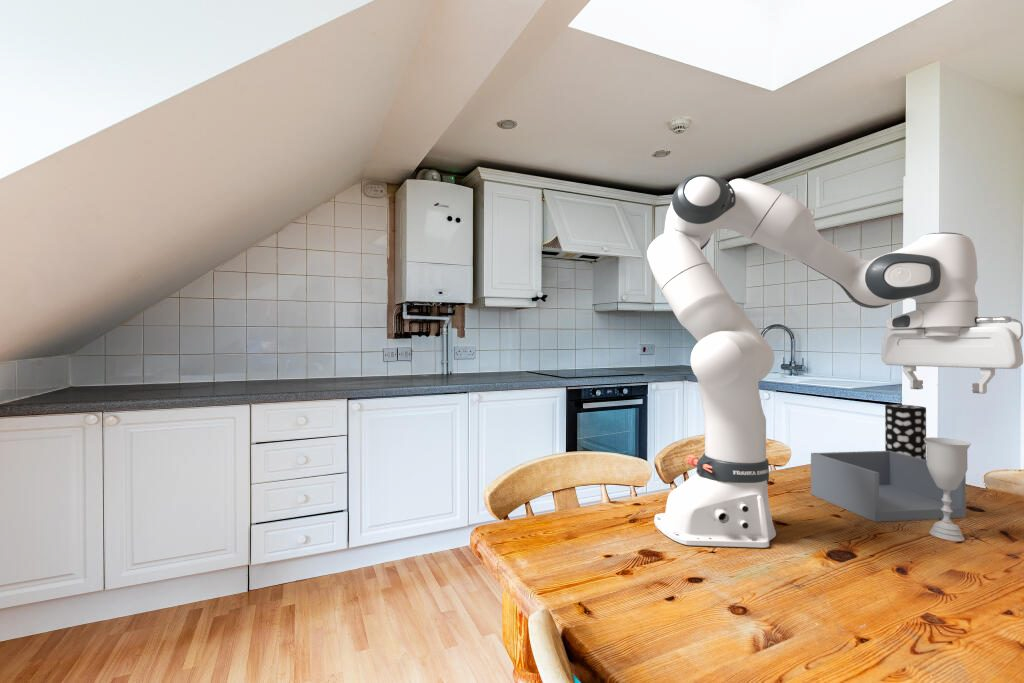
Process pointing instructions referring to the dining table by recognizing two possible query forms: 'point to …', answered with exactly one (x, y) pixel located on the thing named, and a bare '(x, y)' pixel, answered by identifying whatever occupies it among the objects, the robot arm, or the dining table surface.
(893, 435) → the white-spotted black cylinder
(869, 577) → the dining table surface
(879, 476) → the open gray box tray
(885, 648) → the dining table surface
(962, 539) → the chalice
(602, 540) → the dining table surface
